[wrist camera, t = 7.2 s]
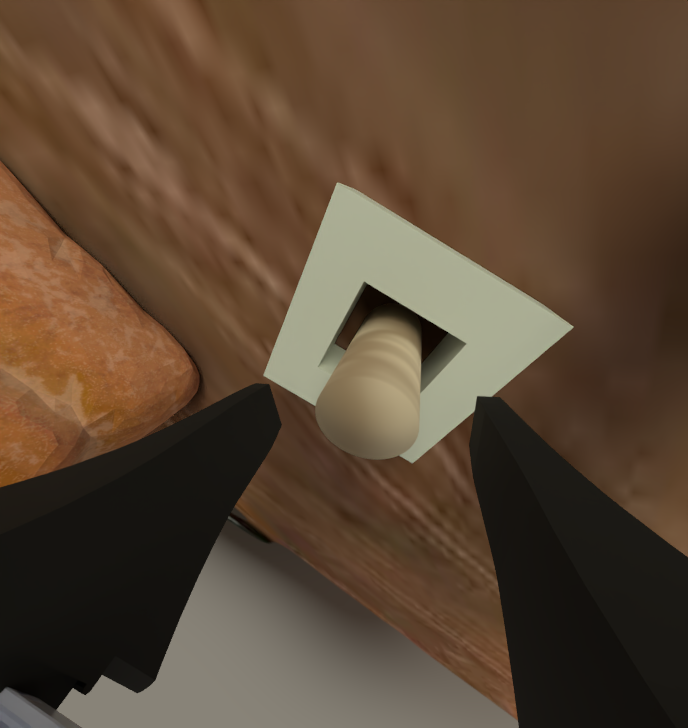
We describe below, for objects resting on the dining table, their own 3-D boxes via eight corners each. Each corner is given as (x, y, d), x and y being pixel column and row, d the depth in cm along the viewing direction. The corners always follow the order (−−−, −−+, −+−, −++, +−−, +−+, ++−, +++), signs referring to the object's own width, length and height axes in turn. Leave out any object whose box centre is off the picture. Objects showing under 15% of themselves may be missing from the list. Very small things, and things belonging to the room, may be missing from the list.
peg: (421, 300, 16) (417, 377, 8) (422, 358, 17) (420, 464, 10) (358, 306, 17) (305, 377, 9) (365, 359, 19) (326, 454, 11)
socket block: (542, 304, 14) (573, 327, 11) (414, 428, 21) (412, 463, 18) (356, 189, 14) (337, 182, 11) (286, 352, 20) (263, 375, 17)
